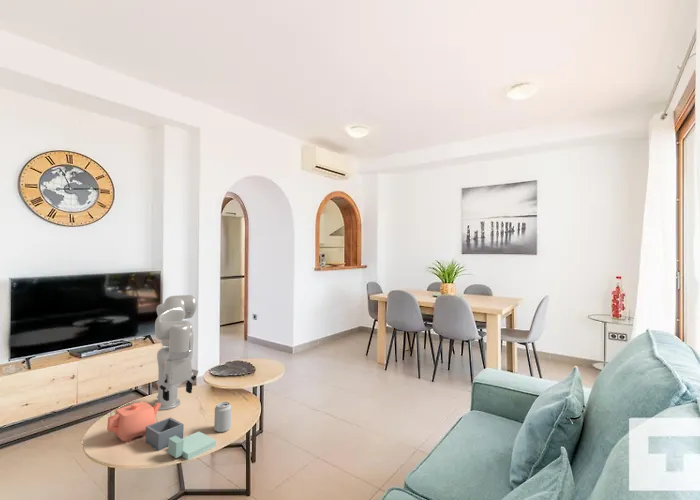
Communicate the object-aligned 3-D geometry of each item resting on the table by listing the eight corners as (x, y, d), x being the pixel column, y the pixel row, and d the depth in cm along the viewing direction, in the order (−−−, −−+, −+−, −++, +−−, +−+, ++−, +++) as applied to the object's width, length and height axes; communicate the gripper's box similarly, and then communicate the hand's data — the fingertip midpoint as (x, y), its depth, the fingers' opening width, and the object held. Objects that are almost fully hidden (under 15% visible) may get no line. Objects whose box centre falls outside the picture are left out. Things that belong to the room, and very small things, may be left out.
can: (234, 427, 172) (234, 402, 172) (223, 434, 165) (224, 408, 165) (221, 424, 174) (222, 399, 174) (210, 431, 167) (211, 405, 167)
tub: (145, 442, 156) (145, 426, 157) (170, 432, 166) (170, 417, 166) (158, 450, 150) (158, 434, 150) (183, 440, 159) (183, 424, 159)
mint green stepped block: (163, 452, 149) (164, 435, 149) (198, 436, 162) (199, 421, 162) (180, 463, 142) (181, 446, 142) (216, 446, 155) (216, 430, 155)
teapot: (154, 421, 175) (155, 393, 176) (166, 430, 168) (167, 400, 168) (102, 439, 158) (103, 407, 158) (112, 449, 150) (113, 416, 150)
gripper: (193, 348, 156) (192, 387, 157) (152, 358, 142) (151, 400, 142) (203, 352, 152) (202, 391, 152) (162, 361, 138) (161, 405, 138)
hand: (177, 396), depth 147 cm, fingers open, 9 cm apart
